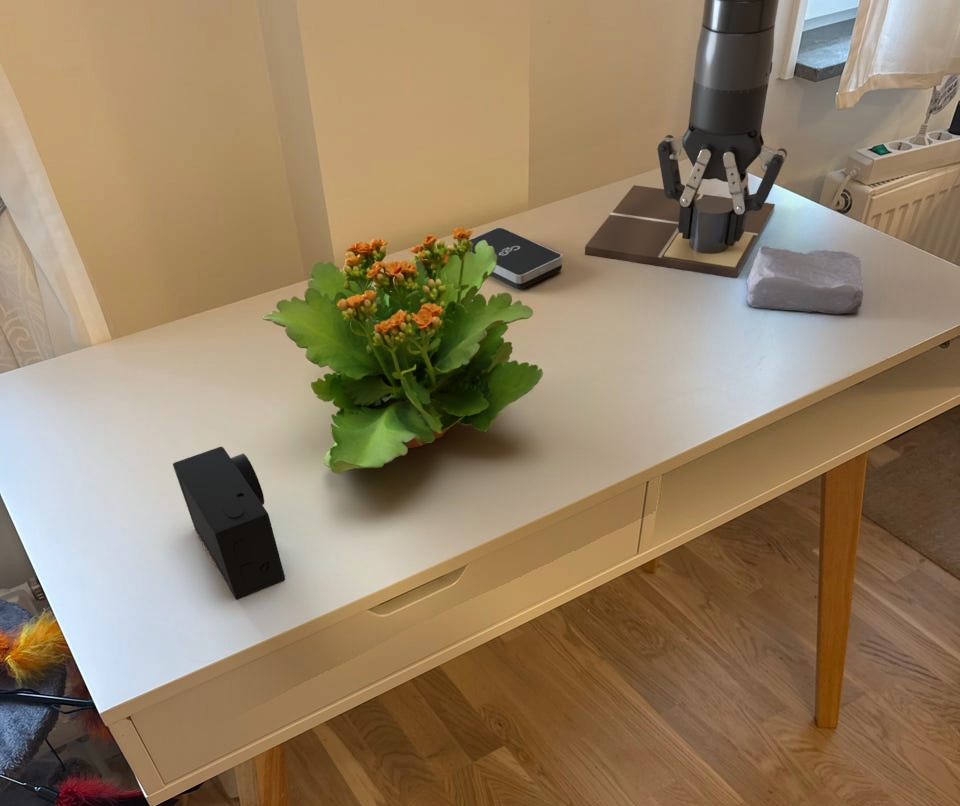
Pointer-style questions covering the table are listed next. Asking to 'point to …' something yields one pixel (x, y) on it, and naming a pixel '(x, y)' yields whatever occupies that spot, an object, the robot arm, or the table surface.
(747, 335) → the table surface
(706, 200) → the dark grey cylinder
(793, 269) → the block
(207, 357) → the table surface
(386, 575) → the table surface
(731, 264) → the board
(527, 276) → the external hard drive
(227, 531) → the digital camera
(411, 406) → the potted flower
